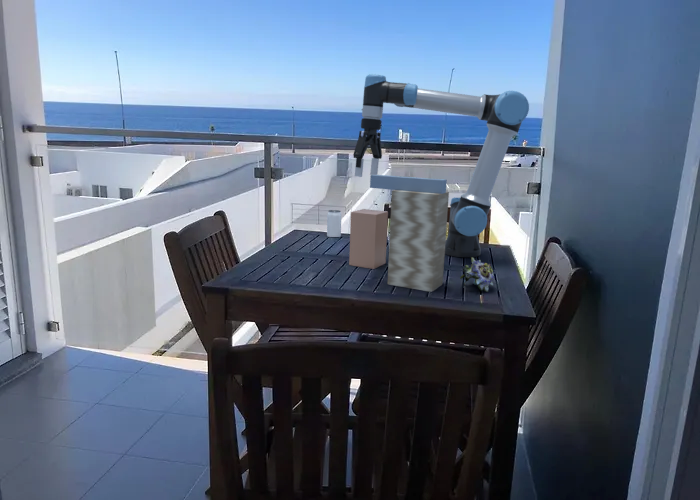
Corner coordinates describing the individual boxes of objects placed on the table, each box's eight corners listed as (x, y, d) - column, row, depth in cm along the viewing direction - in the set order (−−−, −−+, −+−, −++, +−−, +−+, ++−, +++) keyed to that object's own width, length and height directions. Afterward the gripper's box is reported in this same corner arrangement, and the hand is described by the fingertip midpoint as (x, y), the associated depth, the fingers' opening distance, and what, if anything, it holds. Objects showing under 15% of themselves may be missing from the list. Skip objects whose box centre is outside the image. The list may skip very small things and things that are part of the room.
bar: (370, 187, 169) (370, 175, 168) (375, 186, 172) (375, 174, 171) (441, 193, 158) (442, 180, 157) (445, 192, 161) (446, 179, 160)
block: (349, 265, 191) (350, 212, 187) (361, 259, 200) (363, 208, 196) (373, 269, 187) (376, 214, 183) (385, 263, 196) (387, 211, 191)
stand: (387, 284, 168) (391, 190, 162) (399, 277, 177) (404, 188, 171) (431, 291, 162) (438, 194, 155) (442, 284, 170) (449, 191, 164)
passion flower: (483, 307, 166) (484, 283, 157) (452, 294, 171) (451, 271, 162) (499, 282, 171) (500, 258, 162) (469, 271, 176) (468, 246, 168)
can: (341, 235, 246) (342, 210, 243) (340, 238, 240) (340, 212, 237) (327, 235, 247) (328, 209, 244) (325, 237, 240) (326, 211, 238)
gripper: (376, 119, 207) (371, 173, 212) (347, 115, 185) (342, 175, 190) (393, 121, 204) (388, 175, 209) (366, 117, 182) (360, 178, 187)
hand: (366, 175), depth 199 cm, fingers open, 13 cm apart
